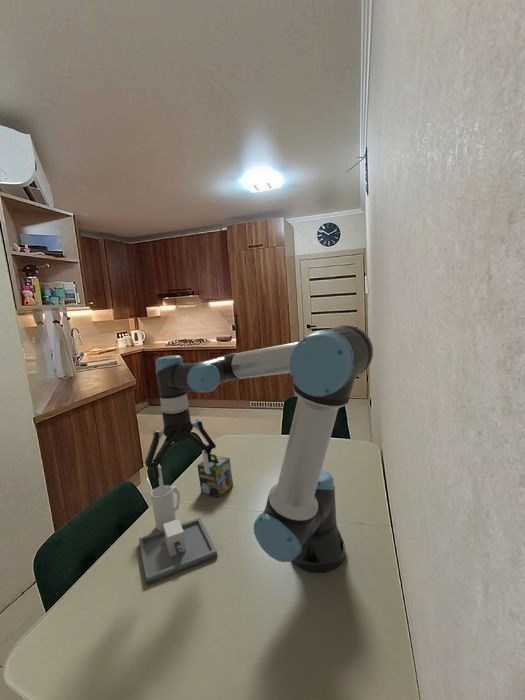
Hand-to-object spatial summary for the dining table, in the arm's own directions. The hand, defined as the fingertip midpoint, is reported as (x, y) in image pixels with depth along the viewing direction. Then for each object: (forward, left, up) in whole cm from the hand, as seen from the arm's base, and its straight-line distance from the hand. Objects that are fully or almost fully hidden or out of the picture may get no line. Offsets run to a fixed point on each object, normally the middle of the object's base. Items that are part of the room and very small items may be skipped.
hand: (185, 479), depth 102 cm
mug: (+14, +4, -20) cm, 25 cm away
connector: (-1, +5, -19) cm, 20 cm away
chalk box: (+25, -16, -20) cm, 35 cm away
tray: (-1, +5, -20) cm, 21 cm away
